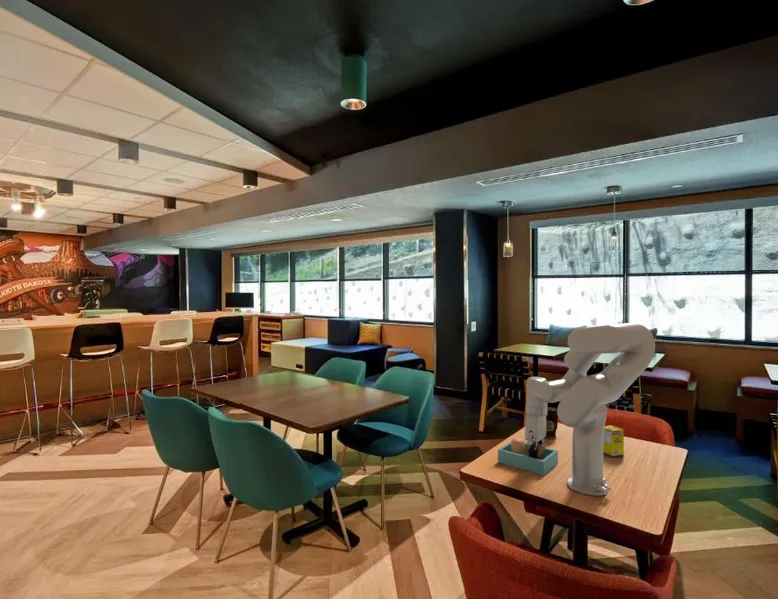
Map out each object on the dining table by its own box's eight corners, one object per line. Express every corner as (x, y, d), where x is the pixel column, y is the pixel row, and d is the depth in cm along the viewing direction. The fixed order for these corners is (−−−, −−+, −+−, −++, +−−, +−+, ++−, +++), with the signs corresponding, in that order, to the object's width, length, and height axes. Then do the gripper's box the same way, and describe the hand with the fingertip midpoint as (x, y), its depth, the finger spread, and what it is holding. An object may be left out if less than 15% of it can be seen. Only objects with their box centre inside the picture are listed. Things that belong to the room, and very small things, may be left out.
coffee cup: (554, 441, 186) (554, 412, 186) (535, 437, 192) (536, 409, 192) (561, 436, 193) (561, 408, 193) (543, 432, 198) (543, 405, 198)
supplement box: (624, 456, 170) (624, 429, 170) (612, 458, 168) (612, 431, 168) (611, 450, 176) (612, 424, 175) (600, 452, 174) (600, 426, 174)
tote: (557, 463, 163) (557, 450, 163) (543, 475, 153) (543, 461, 153) (513, 451, 175) (513, 439, 175) (497, 462, 165) (497, 449, 164)
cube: (544, 457, 162) (544, 444, 162) (539, 461, 158) (539, 448, 158) (532, 454, 165) (532, 441, 165) (526, 458, 161) (526, 445, 161)
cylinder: (527, 459, 165) (527, 441, 165) (516, 460, 163) (516, 443, 163) (519, 454, 170) (519, 437, 169) (508, 456, 168) (508, 438, 168)
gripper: (536, 403, 170) (535, 448, 171) (517, 413, 157) (517, 461, 158) (554, 407, 165) (554, 453, 166) (537, 417, 152) (536, 467, 153)
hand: (536, 456), depth 162 cm, fingers closed on cube, 4 cm apart
